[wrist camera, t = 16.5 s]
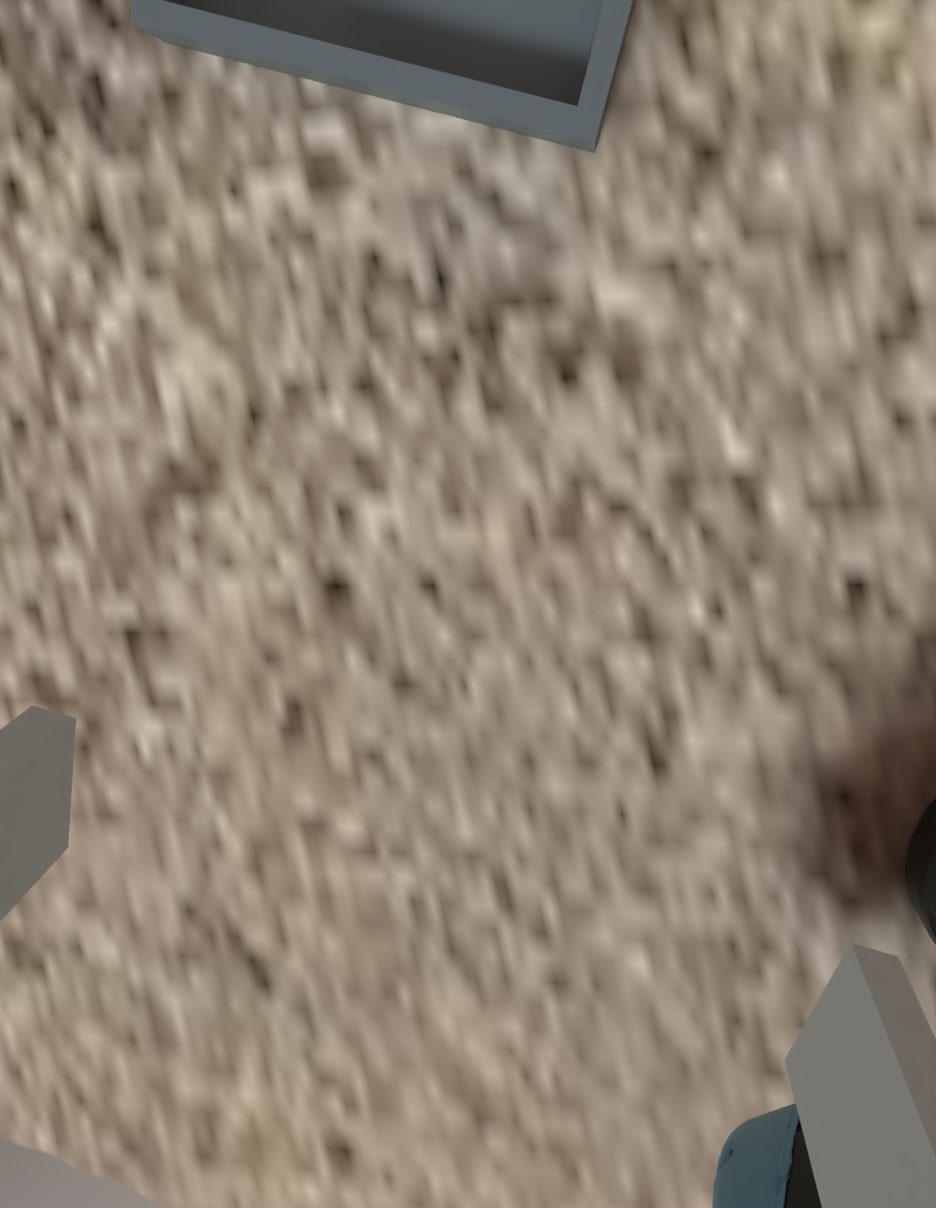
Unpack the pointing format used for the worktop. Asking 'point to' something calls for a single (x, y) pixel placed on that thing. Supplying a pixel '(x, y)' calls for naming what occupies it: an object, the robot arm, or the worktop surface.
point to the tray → (426, 52)
